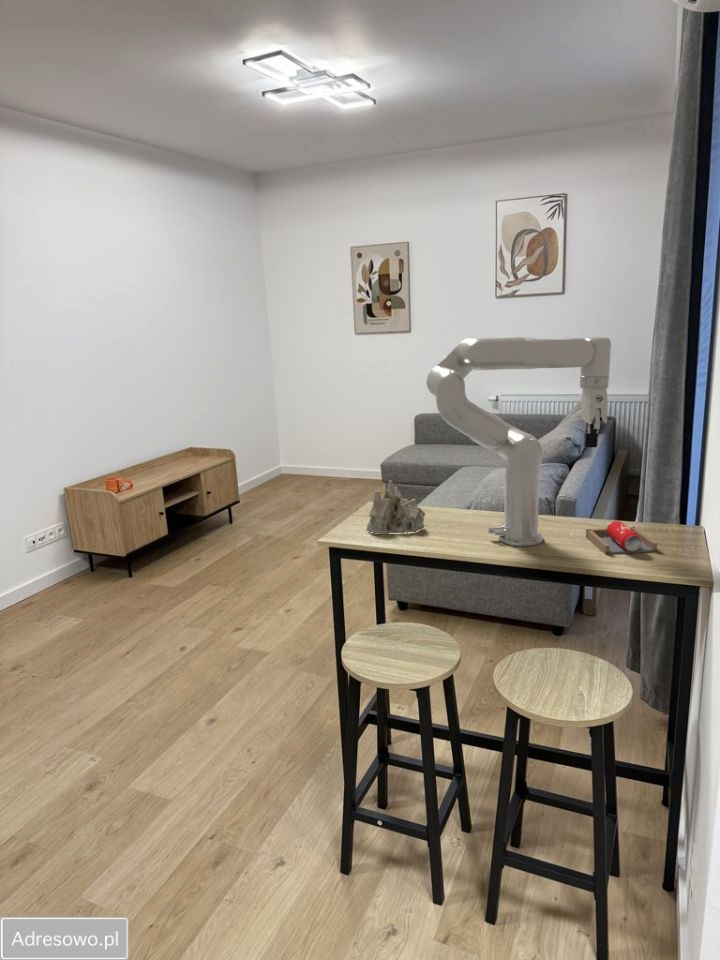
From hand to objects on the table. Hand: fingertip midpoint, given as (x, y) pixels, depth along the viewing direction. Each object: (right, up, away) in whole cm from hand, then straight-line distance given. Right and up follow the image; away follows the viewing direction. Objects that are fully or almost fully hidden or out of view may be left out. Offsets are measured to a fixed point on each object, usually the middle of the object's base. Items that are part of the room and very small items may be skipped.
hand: (590, 446), depth 185 cm
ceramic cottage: (-55, -25, +19) cm, 63 cm away
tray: (+7, -28, -3) cm, 29 cm away
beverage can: (+7, -27, -12) cm, 30 cm away
